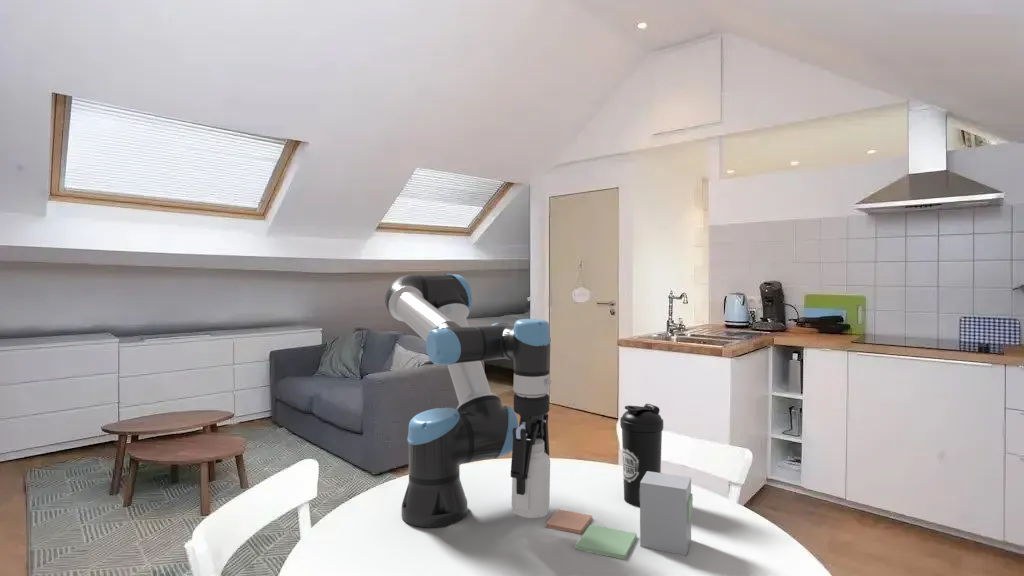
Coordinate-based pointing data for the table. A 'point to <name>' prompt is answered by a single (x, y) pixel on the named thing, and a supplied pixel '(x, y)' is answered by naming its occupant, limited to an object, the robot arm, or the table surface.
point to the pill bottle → (536, 483)
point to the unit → (665, 512)
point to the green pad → (606, 541)
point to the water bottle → (640, 447)
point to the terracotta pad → (569, 521)
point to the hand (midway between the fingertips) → (530, 499)
